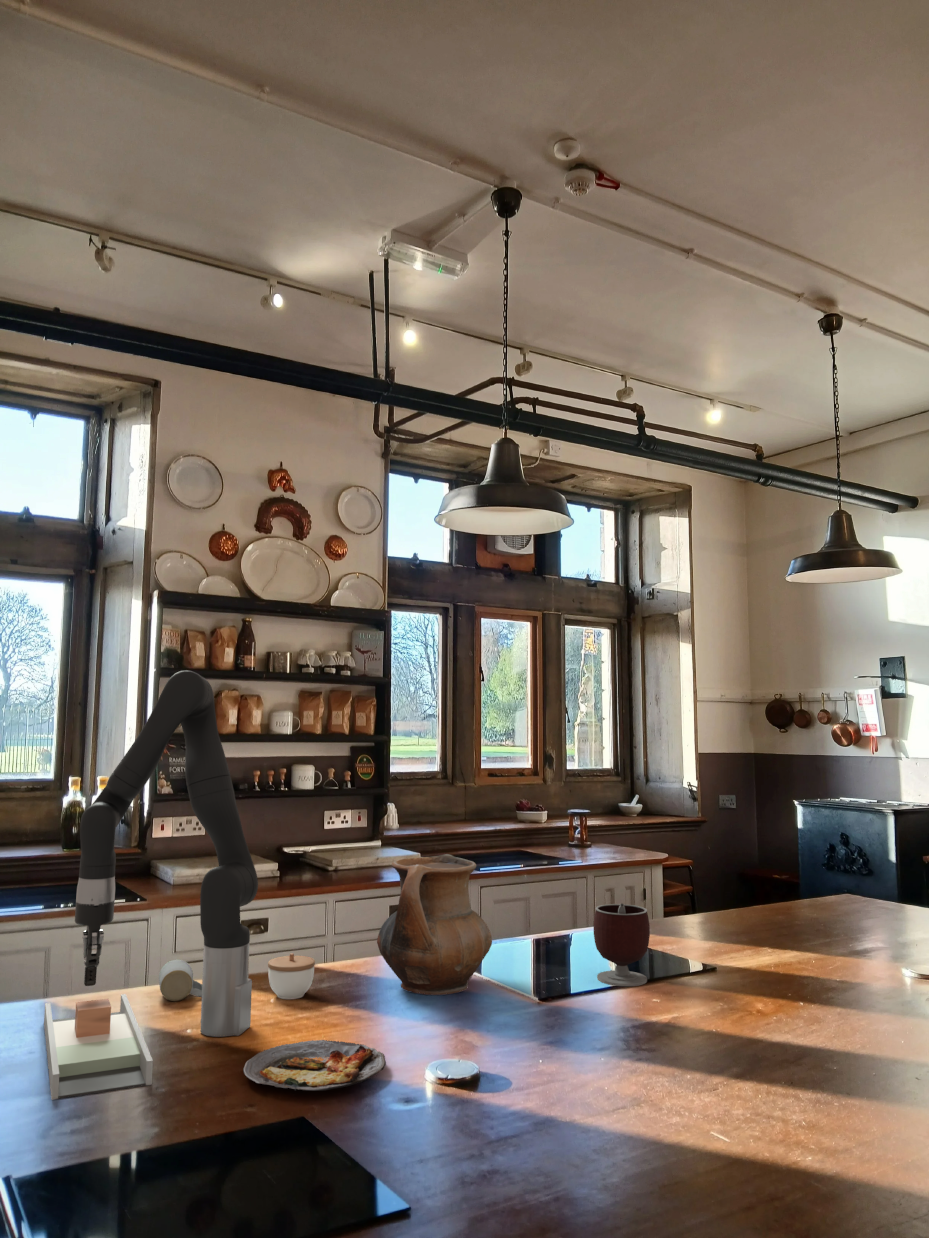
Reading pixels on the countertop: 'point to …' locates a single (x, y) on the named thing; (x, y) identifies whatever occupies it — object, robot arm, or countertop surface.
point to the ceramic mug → (178, 981)
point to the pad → (97, 1056)
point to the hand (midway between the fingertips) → (89, 984)
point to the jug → (434, 927)
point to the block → (92, 1018)
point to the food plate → (315, 1065)
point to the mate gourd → (621, 941)
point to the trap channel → (64, 1035)
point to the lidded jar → (291, 975)
